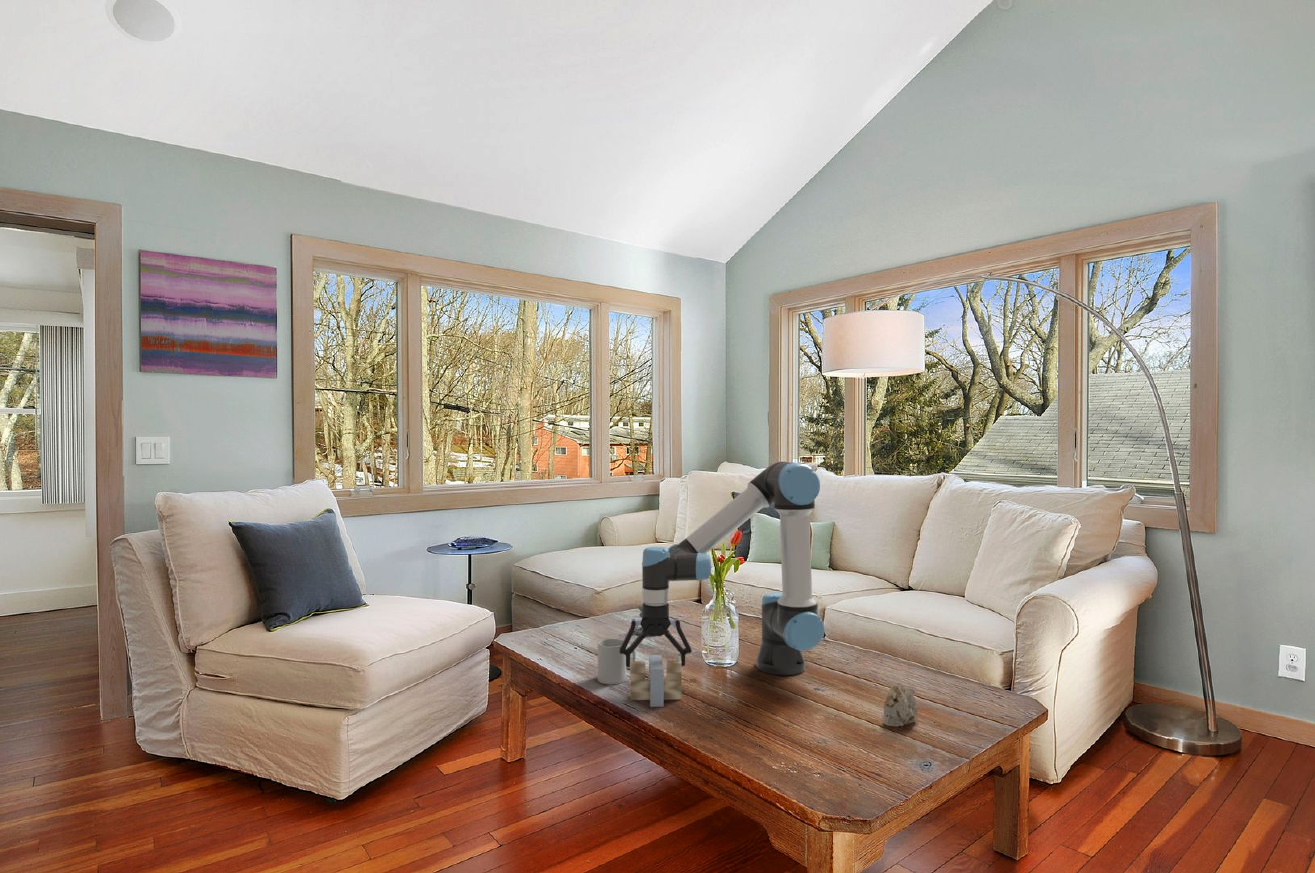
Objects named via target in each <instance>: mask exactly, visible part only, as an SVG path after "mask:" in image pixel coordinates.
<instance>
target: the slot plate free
mask: <svg viewBox="0 0 1315 873" xmlns="http://www.w3.org/2000/svg"><path fill="white" fill-rule="evenodd" d="M662 656H663V655H662V654H649V655H648V664H649V665H648V679H650V700H649V704H650V705H649V706H650V708H652V707H653V708H654V707H655V708H656V707H657V708H658V707H659V708H660V707H662V708H663V707H664V705H665V704H664V703H665V702H664V701H665V700H664V679H665V678H664V677H665V676H664V674H665V672H664V664H663V663H664V662H663V658H662Z"/></svg>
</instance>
